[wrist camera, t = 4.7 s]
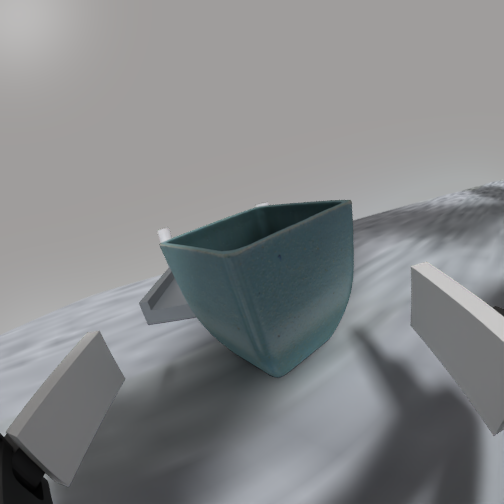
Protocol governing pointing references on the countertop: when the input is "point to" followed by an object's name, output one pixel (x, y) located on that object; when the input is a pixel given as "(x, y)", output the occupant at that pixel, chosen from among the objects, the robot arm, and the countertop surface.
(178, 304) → the tray
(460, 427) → the countertop surface
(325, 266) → the flower pot
